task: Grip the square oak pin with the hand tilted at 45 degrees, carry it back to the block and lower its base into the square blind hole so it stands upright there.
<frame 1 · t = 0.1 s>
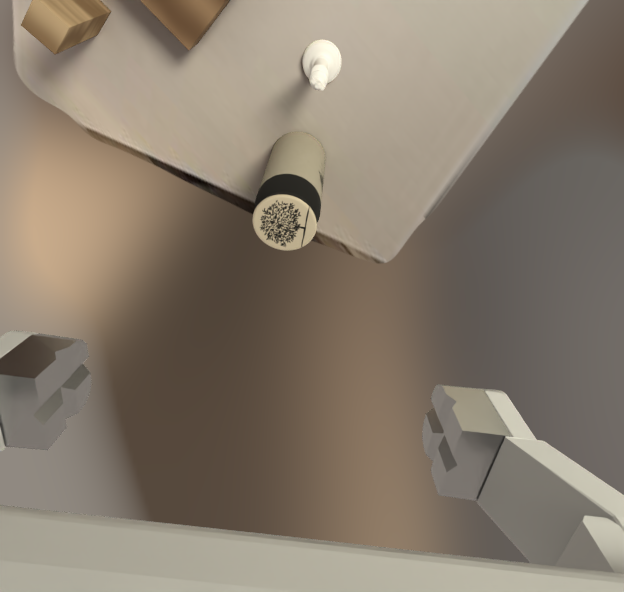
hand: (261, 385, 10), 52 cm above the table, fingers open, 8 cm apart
travel mug: (298, 157, 60), on the table
pin: (90, 10, 49), on the table
chess piece: (321, 61, 51), on the table
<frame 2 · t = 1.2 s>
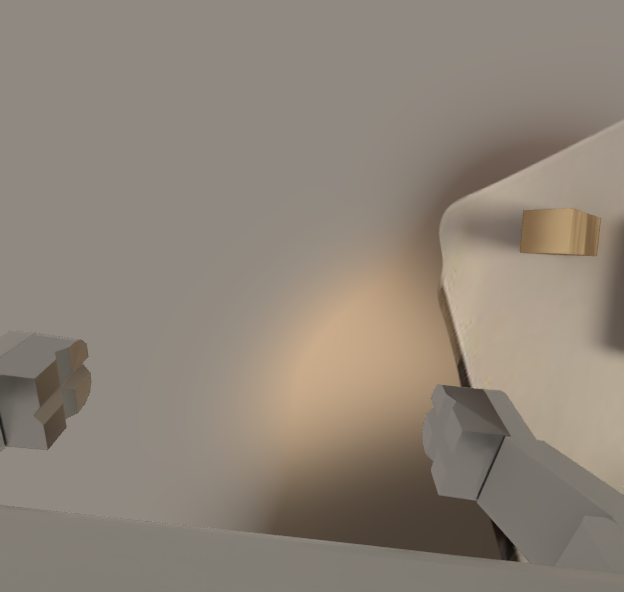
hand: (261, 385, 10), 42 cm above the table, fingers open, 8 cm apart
pin: (577, 237, 41), on the table
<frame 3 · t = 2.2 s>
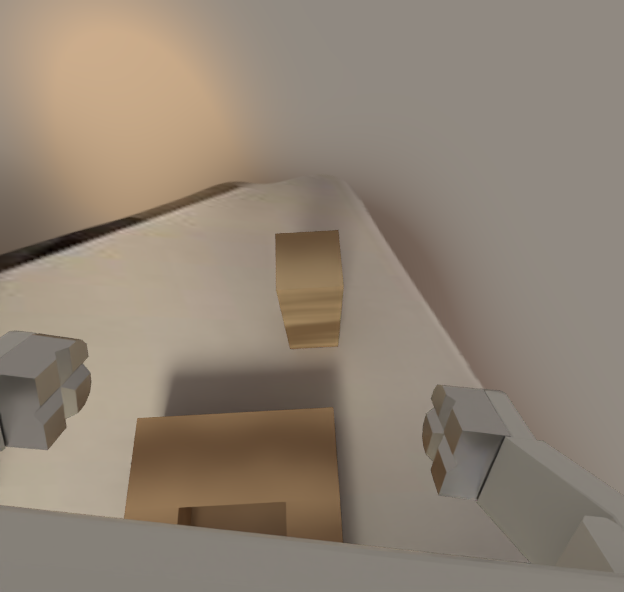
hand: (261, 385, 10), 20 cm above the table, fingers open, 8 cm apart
pin: (312, 325, 31), on the table
socket block: (244, 557, 25), on the table
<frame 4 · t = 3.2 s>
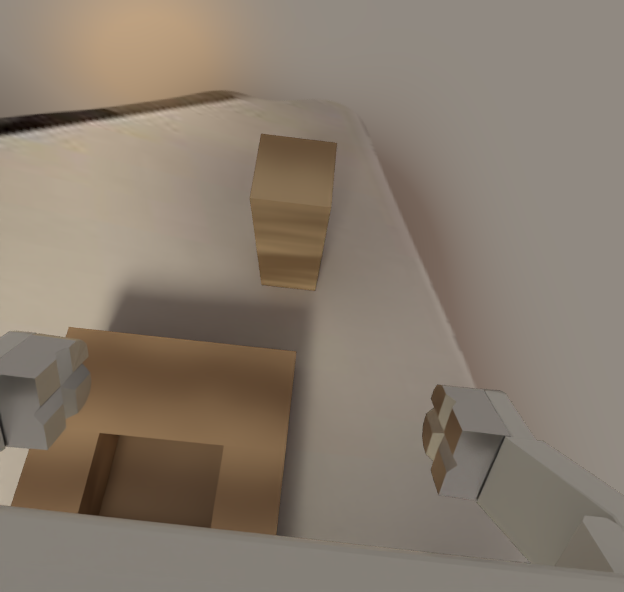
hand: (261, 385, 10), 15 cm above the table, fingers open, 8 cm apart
pin: (291, 263, 28), on the table
socket block: (170, 498, 22), on the table
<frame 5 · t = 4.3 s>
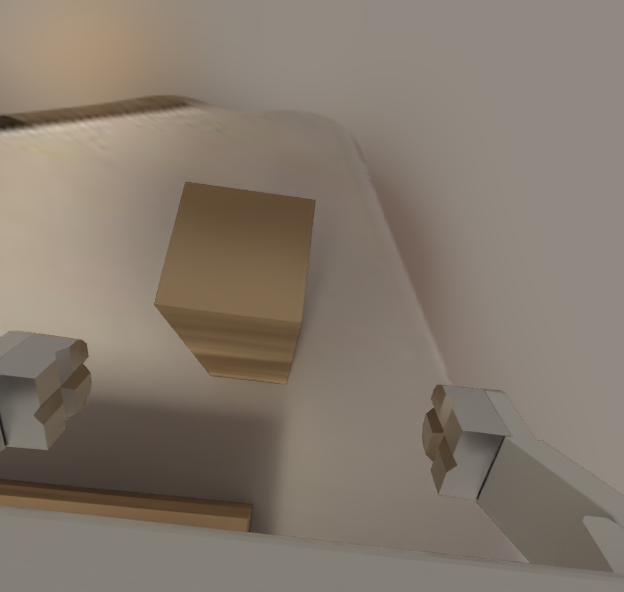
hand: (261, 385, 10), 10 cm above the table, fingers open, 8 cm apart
pin: (254, 343, 20), on the table
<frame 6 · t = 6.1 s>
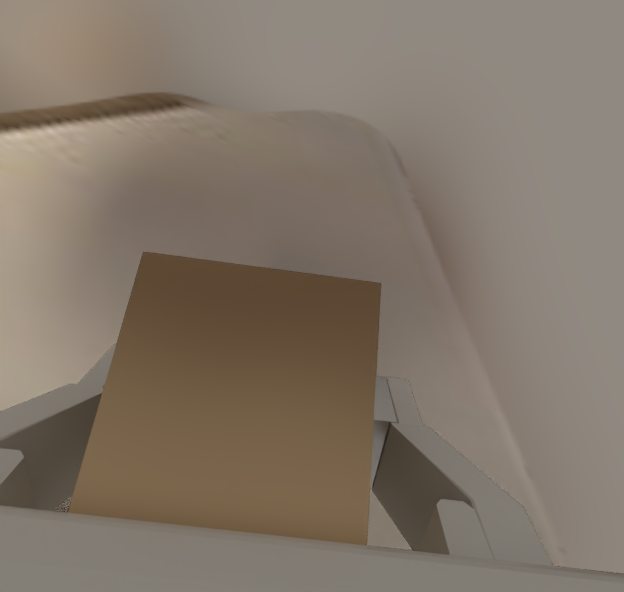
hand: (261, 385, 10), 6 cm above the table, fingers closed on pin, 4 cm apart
pin: (265, 424, 15), on the table, touching gripper
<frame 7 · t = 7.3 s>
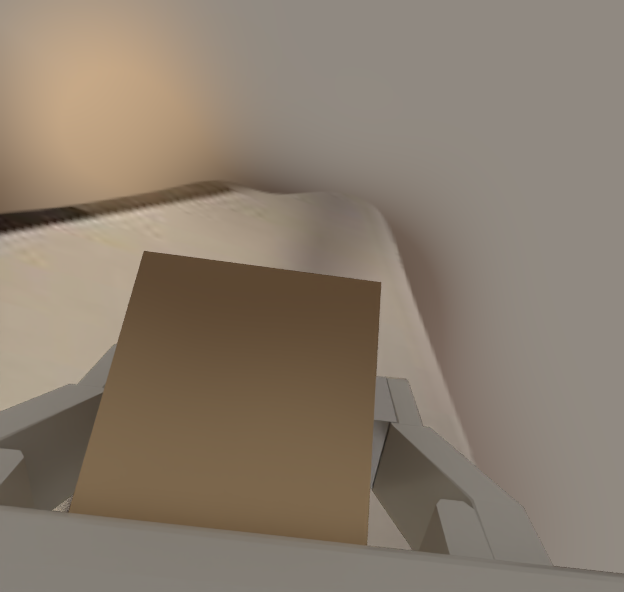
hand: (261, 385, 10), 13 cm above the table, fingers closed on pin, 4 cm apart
pin: (265, 424, 15), point 8 cm above the table, touching gripper
when the fingers open (9 cm above the table, at t = 12.6 s): pin drops 1 cm, resting on socket block.
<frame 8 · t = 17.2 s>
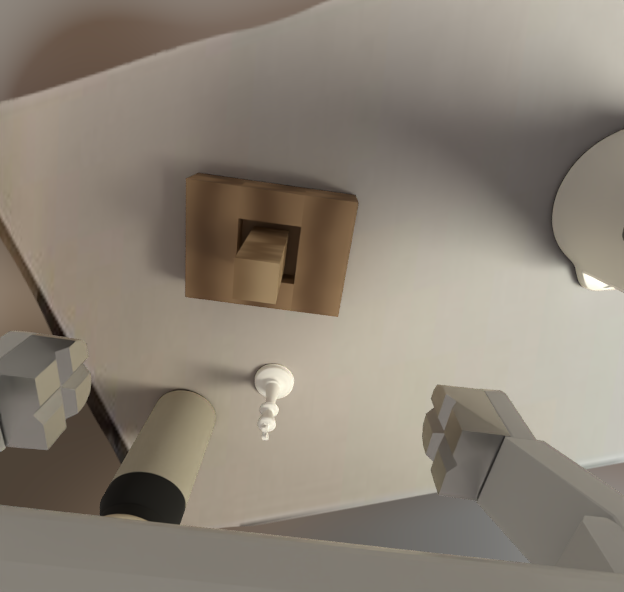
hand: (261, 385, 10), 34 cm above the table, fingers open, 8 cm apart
travel mug: (186, 412, 53), on the table
pin: (270, 245, 42), point 1 cm above the table, touching socket block
chess piece: (274, 379, 51), on the table
socket block: (271, 240, 43), on the table
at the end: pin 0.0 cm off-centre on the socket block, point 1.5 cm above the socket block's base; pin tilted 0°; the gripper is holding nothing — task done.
